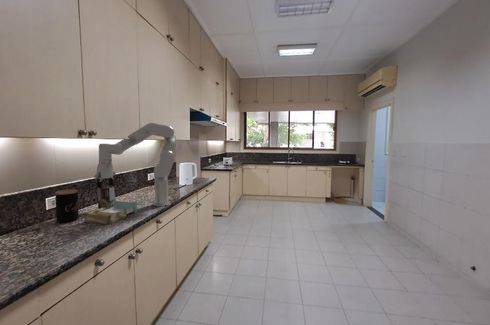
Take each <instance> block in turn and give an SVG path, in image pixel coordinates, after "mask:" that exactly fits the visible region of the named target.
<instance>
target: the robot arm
mask: <svg viewBox="0 0 490 325" xmlns="http://www.w3.org/2000/svg"><path fill="white" fill-rule="evenodd" d="M152 136H157V137H163V139H164V140H163V141H164V142H163V146H162V148H161V150H160V153H159V163H157V164H156V165H155V166H154V167H153V168H154V169H153V175H154V177H153V178H154V202H152V206H155V207H166V206H169V205H170V204H171V201H170V200H171V196H169V177H168V176H169V175H170V174H171V170H172V167H173V165H174V162H175V154H174V151H175V149H176V145H177V139H176V135H175V129H174V128H173V127H172V126H170V125H167V124H166V125H165V124H159V123H155V122H149V123H146V124H145V125H143V126H142V127H140V128H138V129H137V130H135V131H133V132H132V133H130V134H128V135H127V137H128V138H129V139H125V138H122V139H121V140H120V141H118V142H116V143H112V144H111V143H99V144H98V163H97V166H96V174H94V175H93V178H94V180H95V182H96V183H97V184H96V186H97V188H102V187H103V182H102V181H103V180H105V179H108V185H109V186H114V180H115V178H116V175H117V173H116V172H115V171H114V167H113V157H112V155H117V156H119V155H120V156H121V155H122V154H123V153H124V152H125V151H127V150H129V149H131V148H132V147H133V146H136V145H138V144H140V143H143V142H144V141H145V140H147V139H149V138H150V137H152ZM165 205H166V206H165Z"/></svg>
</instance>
